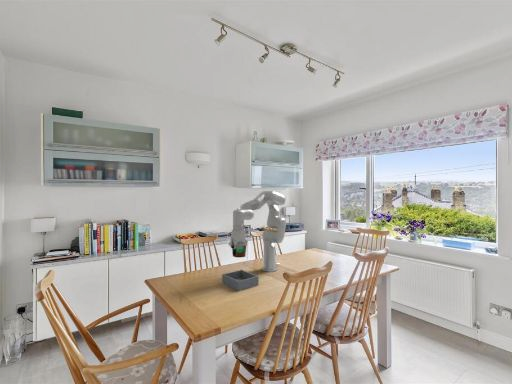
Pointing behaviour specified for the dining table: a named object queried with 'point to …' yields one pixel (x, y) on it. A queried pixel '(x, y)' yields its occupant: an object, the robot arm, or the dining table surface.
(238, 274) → the crate
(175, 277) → the dining table surface
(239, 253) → the food container
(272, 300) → the dining table surface
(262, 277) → the dining table surface
